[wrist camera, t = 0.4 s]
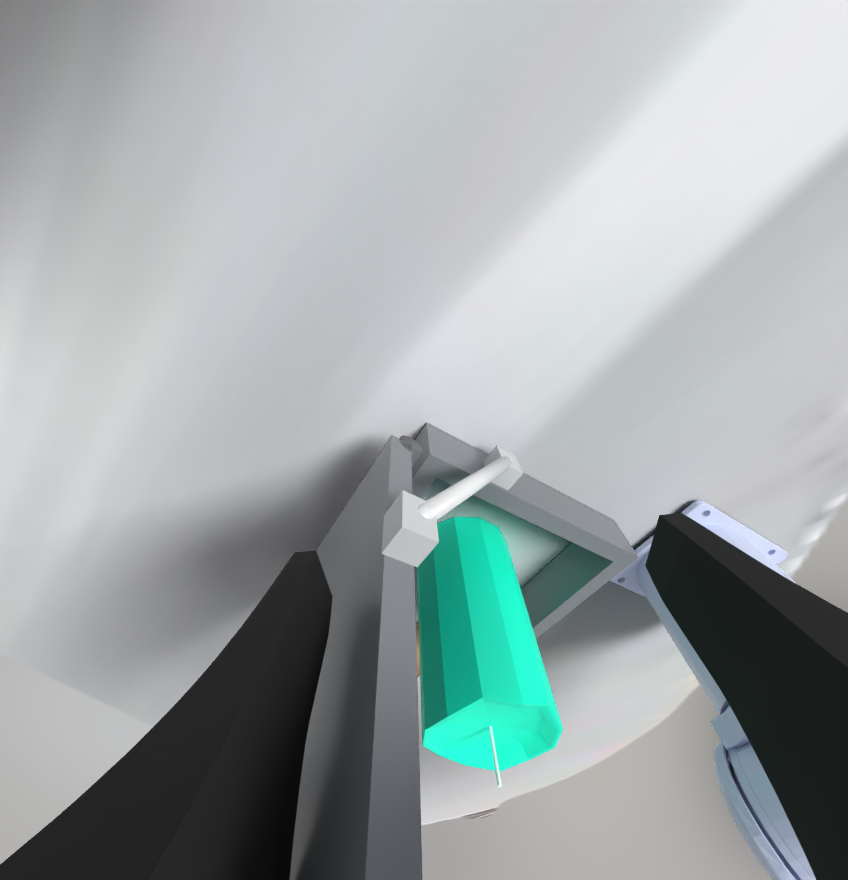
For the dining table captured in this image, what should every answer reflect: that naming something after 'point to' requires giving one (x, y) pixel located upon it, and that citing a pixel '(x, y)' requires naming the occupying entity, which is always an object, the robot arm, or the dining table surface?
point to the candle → (480, 654)
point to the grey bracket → (410, 642)
